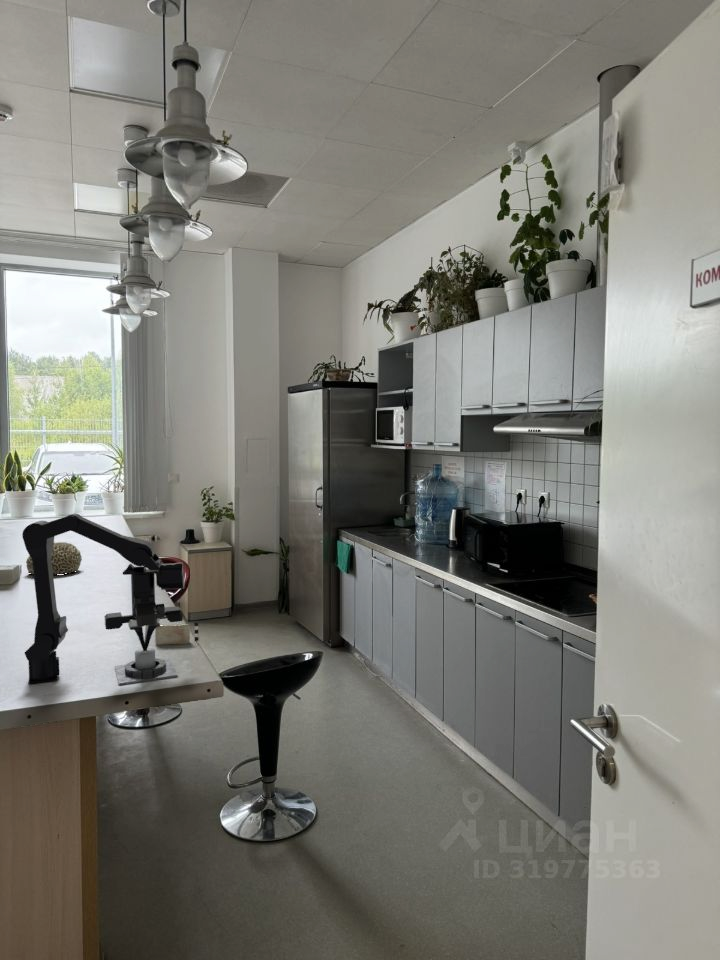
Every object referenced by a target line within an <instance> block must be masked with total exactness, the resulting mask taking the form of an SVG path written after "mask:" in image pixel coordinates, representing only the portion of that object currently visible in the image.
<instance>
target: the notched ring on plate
mask: <svg viewBox="0 0 720 960" xmlns="http://www.w3.org/2000/svg"><path fill="white" fill-rule="evenodd" d="M155 662H156V667H153V668H149V669H135V660H133V661H129V662H127V663H126V664H119V665H114V670H115V673H116V678H117V683H118V686H124V685H131V684H139V683H143V682H152V681H159V680H164V679H171V678H177V677H179V676H178V672H177V671H176V669H175V666H174V665H173V663H172V661H171V658H164V659H162V658H161V659H160V658H156V657H155Z"/></svg>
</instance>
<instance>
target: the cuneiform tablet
mask: <svg viewBox="0 0 720 960" xmlns="http://www.w3.org/2000/svg"><path fill="white" fill-rule="evenodd" d="M193 627H194V641H195V642H196V641H199V622H198V621H196V622H195V621H194V626H193ZM154 631H155V632H154V633H155V636H154V637H155V641H154V642H155V645H157V646H159V645H185V644H186V645H187V644H190V642H191V629H190V624H189V623H181V624H180V623H179V624H177V623H176V624H160V626H159V627H156V628H155V630H154Z"/></svg>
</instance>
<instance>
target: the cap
mask: <svg viewBox="0 0 720 960" xmlns="http://www.w3.org/2000/svg"><path fill="white" fill-rule="evenodd" d="M155 658H156V649H154V648H149V647H148V648H147V651H143V648H141V649H140V648H139V649H137V650H135V652H134V661H135V669H149V668H153V667H156V662H155Z"/></svg>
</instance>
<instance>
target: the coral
mask: <svg viewBox="0 0 720 960" xmlns="http://www.w3.org/2000/svg"><path fill="white" fill-rule="evenodd" d="M82 559H83V557H82V555H81V551H80V550H79V548H77V546H75V545H74V544H72V543H68V542H61V541H60V542H54V545H53V549H52V554H51V560H52V569H53V575H56V574H65V573H69V574H72V573H71V572H75V571H77V570H78V571H79V569H80V566H81V563H82ZM25 563H26V569H27V572H28V573H31V574H34V573H33V564H32V559H31V557H30V555H29V554H28V557H27V559H26V562H25ZM78 571H77V572H78ZM28 573H27V574H28Z"/></svg>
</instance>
